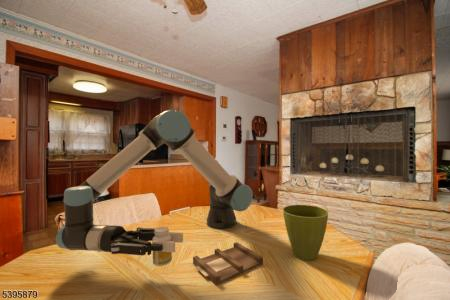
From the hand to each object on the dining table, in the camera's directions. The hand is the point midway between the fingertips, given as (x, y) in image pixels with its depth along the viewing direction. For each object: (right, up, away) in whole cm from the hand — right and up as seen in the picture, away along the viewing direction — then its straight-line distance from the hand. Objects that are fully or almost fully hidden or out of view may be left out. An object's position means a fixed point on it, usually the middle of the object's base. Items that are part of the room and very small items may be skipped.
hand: (178, 242), depth 63 cm
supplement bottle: (-5, -6, +1) cm, 8 cm away
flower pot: (+42, -11, +13) cm, 45 cm away
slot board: (+14, -11, +9) cm, 20 cm away
